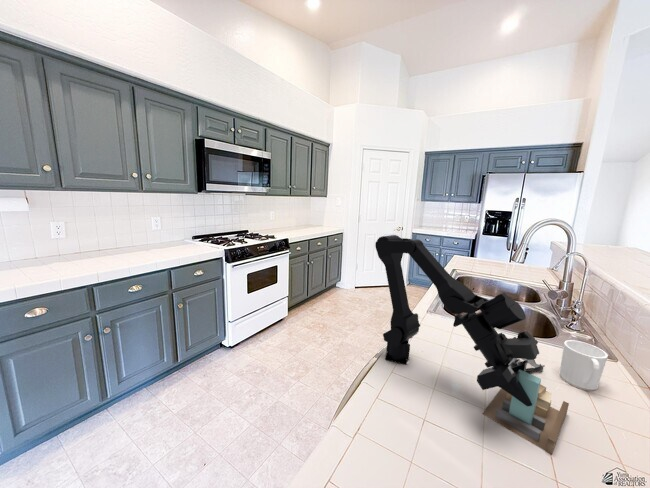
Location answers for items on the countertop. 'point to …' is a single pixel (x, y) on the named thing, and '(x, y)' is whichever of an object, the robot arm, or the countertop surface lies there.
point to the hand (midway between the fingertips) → (531, 402)
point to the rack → (543, 423)
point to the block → (531, 389)
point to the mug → (582, 364)
